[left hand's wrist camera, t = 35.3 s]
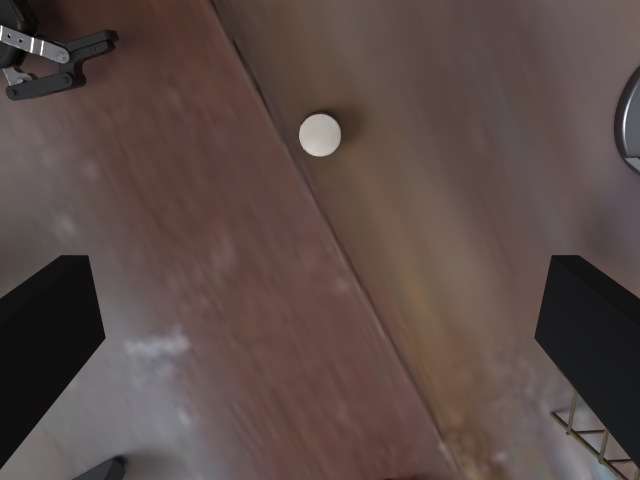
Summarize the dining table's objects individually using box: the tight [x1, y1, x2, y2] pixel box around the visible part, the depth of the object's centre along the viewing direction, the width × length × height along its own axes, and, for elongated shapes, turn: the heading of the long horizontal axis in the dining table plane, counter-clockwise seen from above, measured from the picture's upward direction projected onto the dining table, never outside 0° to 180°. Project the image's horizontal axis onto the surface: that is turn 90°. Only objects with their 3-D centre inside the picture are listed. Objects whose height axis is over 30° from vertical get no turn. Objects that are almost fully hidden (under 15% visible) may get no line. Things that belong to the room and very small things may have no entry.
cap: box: [299, 111, 342, 157], centre depth 45 cm, size 4×4×2 cm
